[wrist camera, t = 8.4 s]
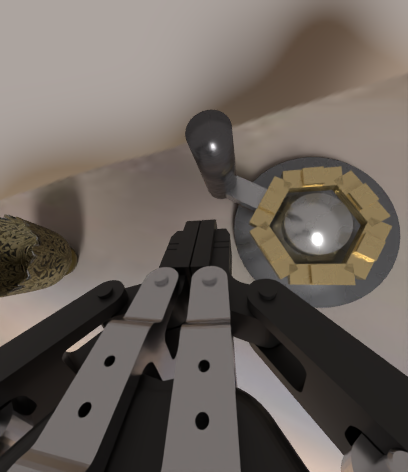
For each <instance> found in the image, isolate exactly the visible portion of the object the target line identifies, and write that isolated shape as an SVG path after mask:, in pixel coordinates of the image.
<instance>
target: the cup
mask: <svg viewBox="0 0 408 472" xmlns="http://www.w3.org/2000/svg"><path fill="white" fill-rule="evenodd" d="M4 217H5V218H1V217H0V297H5V296H10V295H16V294H21V293H27V292H32V291H36V290H40V289H44V288H47V287H49V286H52V285H54V284H55V283H57V282H58V281H60V280H61V279H62V278H63V277H64V276H65V275H68V274H69V273H71V272H72V271H73V270H74V269H75V267H76V265H77V261H78V258H77V254H76V252H75V251H74V250H73V249H72V248H70V246H69V244H68V243H67V241H66V240H65V239H64V238H63V237H62V236H60V235H59V234H57V233H55V232H54V231H51V230H49V229H47V228H44V227H42V226H39V225H37V224H34V223H31V222H29V221H26V220H23V219H21V218H19V217H13V216H10V215H4Z"/></svg>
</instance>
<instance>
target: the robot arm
mask: <svg viewBox="0 0 408 472" xmlns="http://www.w3.org/2000/svg"><path fill="white" fill-rule="evenodd" d="M100 325H102V326H103V328H104V330H103V331H102V332H100V333H99V334H98V335H96V336H95V337H94V338H92V339H91V340H90V341H88V342H87V343H86V344H84V345H83V346H82V347H80V348H79V349H78V350H76V351H74V352H66V350H67V349H68V348H70V347H71V346H72V345H74V344H75V343H76V342H78V341H79V340H80V339H82V338H83V337H85V336H86V335H87V334H89V333H90V332H91V331H93V330H94V329H95V328H97V327H98V326H100ZM233 336H234V337H236V338H239V339H242V340H244V341H247V342H249V343H250V345H251V347H252V348H253V350H254V351H255V352H256V353H257V354H258V356H259V357H260V358H261V359H262V360H263V361H264V363H265V364H266V365H267V366H268V367H269V368H270V370H271V371H272V372H273V373H274V374H275V375H276V377H277V378H278V379H279V380H280V381H281V382H282V384H283V385H284V386H285V387H286V388H287V389H288V391H289V392H290V393H291V394H292V395H293V396H294V398H295V399H296V400H297V401H298V402H299V403H300V405H301V406H302V407H303V408H304V409H305V410H306V412H307V413H308V414H309V415H310V416H311V417H312V419H313V420H314V421H315V422H316V423H317V424H318V426H319V427H320V428H321V429H322V430H323V431H324V433H325V434H326V435H327V436H328V437H329V438H330V440H331V441H332V442H333V443H334V444H335V445H336V447H337V448H338V449H339V450H340V451H341V452H342V454H343V455H344V456H343V459H342V463H341V472H408V377H407V376H406V375H405V374H403V373H402V372H401V371H399V370H398V369H397V368H395V367H394V366H393V365H391V364H390V363H388V362H387V361H386V360H384V359H383V358H382V357H380V356H379V355H378V354H376V353H375V352H374V351H372V350H371V349H370V348H368V347H367V346H365V345H364V344H363V343H361V342H360V341H359V340H357V339H356V338H355V337H353V336H352V335H351V334H349V333H348V332H347V331H345V330H344V329H342V328H341V327H340V326H338V325H337V324H336V323H334V322H333V321H332V320H330V319H329V318H328V317H326V316H325V315H324V314H322V313H321V312H319V311H318V310H317V309H315V308H314V307H313V306H311V305H310V304H309V303H307V302H306V301H305V300H303V299H302V298H300V297H299V296H298V295H296V294H295V293H294V292H292V291H291V290H290V289H288V288H287V287H286V286H284V285H283V284H281V283H280V282H278V281H276V280H273V279H258V280H256V281H254V282H252V283H251V284H250V285H249V284H245V283H241V282H239V281H237V280H235V279H234V278H233V277H232V254H231V242H230V234H229V232H228V231H227V229H217V224H216V220H202V221H187V222H186V224H185V227H184V230H183V231H177V232H176V233H175V234H174V235H173V236H172V237H171V239H170V242H169V245H168V247H167V250H166V251H165V254H164V256H163V259H162V261H161V264H160V266H159V268H158V269H156V270H154V271H152V272H151V273H149V274H148V275H147V276H146V278H145V280H144V282H143V283H142V284H139V285H136V286H132V287H128V288H125V287H124V285H123V284H122V283H121V282H120V281H116V280H112V281H107V282H104V283H102V284H100V285H98V286H97V287H95V288H94V289H92V290H90V291H89V292H87V293H86V294H84V295H82V296H81V297H79V298H78V299H76V300H74V301H73V302H71V303H70V304H68V305H66V306H65V307H63V308H62V309H60V310H58V311H57V312H55V313H54V314H52V315H51V316H49V317H47V318H46V319H44V320H43V321H41V322H39V323H38V324H36V325H35V326H33V327H31V328H30V329H28V330H27V331H25V332H23V333H22V334H20V335H19V336H17V337H15V338H14V339H12V340H11V341H9V342H8V343H6V344H4V345H3V346H1V347H0V472H309V470H308V469H307V467H306V466H305V464H304V463H303V461H302V460H301V458H300V457H299V456H298V454H297V453H296V451H295V450H294V448H293V447H292V445H291V444H290V442H289V441H288V439H287V438H286V437H285V435H284V434H283V432H282V431H281V429H280V428H279V426H278V425H277V423H276V422H275V420H274V419H273V418H272V416H271V415H270V414H269V412H268V411H267V410H266V409H265V408H264V407H263V406H262V405H261V404H260V403H259V402H258V401H257V400H256V399H255V398H254V397H252V396H251V395H250V394H248V393H247V392H245V391H243V390H241V389H239V388H237V377H236V366H235V353H234V340H233Z"/></svg>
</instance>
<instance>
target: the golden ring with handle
mask: <svg viewBox="0 0 408 472" xmlns="http://www.w3.org/2000/svg"><path fill="white" fill-rule="evenodd" d="M185 136H186V140H187V143H188V145H189V147H190V150H191V152H192V154H193V156H194V159H195V161H196V163H197V165H198V168H199V170H200V172H201V175H202V177H203V179H204V181H205V184H206V186H207V188H208V191H209V193H210V194H211V195H212V196H213V197H215V198H218V199H225V198H228V199H230V200H232V201H234V202H236V203H238V204H240V205H242V206H244V207H247V208H249V209H251V210H253V211H255V213H254V214H253V216H252V218H251V220H250V222H249V225H250V226H252V227H254V229H252V230H251V231H250V232H249V234H250V235H251V237H252V238H253V240H254V241H255V243H256V244H257V246H258V248H259V249H260V251H261V252H262V254H263V255H264V257H265V258H266V260H267V261H268V263H269V265H270V266H271V268H272V269H273V271H274V272H275V274H276V275H277V277H278V278H279V279H282V278H284V277H286V276H287V277H288V284H290V285H356V284H355V278H356V279H358V280H365V279H366V277H367V275H368V273H369V271H370V269H371V267H372V265H373V263H374V261H377V259H378V257H379V255H380V253H381V251H382V249H383V247H384V245H385V243H386V242H385V240H386V238H387V236H388V234H389V232H390V230H391V228H392V226H391V225H388V224H386V223H384V222H381V221H383V220H385V219H387V218H388V217H390V215H389V213H388V212H387V211H386V210H385V209H384V208H383V206H382V205H381V204H380V203H379V202H378V201H377V200H379V198H378V197H377V196H376V194H375V193H374V192H373V191H372V190H371V189H370V187H369V186H368V185H367V184H366V183H364V184H363V183H362V182H361V181H360V180H359V179H358V178H357V176H356V175H355V174H354V173H353V172H352V171H349V172H347V173H346V174H344V175H342V167H341V166H340V167H328V168H324V166H323V167H310V168H303V169H302V170H291V171H283V172H282V175H281V179H280V178H278V177H276V176H275V177H274V178H273V180H272V182H271V184H270V186H269V187H268V189H266V188H264V187H261V186H259V185H257V184H255V183H253V182H250V181H248V180H246V179H244V178H241V177H239V176H237V175H236V166H235V155H234V145H233V135H232V125H231V122H230V119H229V118H228V117H227V116H226V115H225V114H224V113H222V112H220V111H217V110H206V111H202V112H200V113H199V114H197V115H195V116H194V117H193V118H192V119H191V120H190V122H189V123H188V125H187V127H186V132H185ZM324 190H333V191H334V193H335V194H336V195H337V196H338V198H339V199H340V200H341V201H342V202H343V203H344V205H345V206H346V207H347V208H348V210H349V211H350V212H351V214H352V215H353V216H354V217H355V219H356V220H357V221H358V222H359V223H360V225H361V226H360V228H359V230H358V232H357V234H356V236H355V237H354V239H353V241H352V243H351V245H350V247H349V249H348V251H347V253H346V255H345V257H344V259H343V261H342V263H341V264H295V263H294V262H293V260H292V259H291V257H290V256H289V254H288V253H287V251H286V250H285V248H284V247H283V245H282V244H281V242H280V241H279V240H278V238H277V237H276V235H275V234H274V232H273V231H272V229H271V228H270V224H271V222H272V220H273V218H274V216H275V215H276V213H277V211H278V209H279V207H280V206H281V204H282V202H283V200H284V198H285V196H286V195H287V193H293V192H309V191H324Z"/></svg>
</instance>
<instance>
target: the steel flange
mask: <svg viewBox="0 0 408 472" xmlns="http://www.w3.org/2000/svg"><path fill="white" fill-rule="evenodd" d="M323 166H324V168H328V167H340V166H341V167H342V175H344V174H346V173H347V172H349V171H352V172H353V173H354V174H355V175H356V176H357V178H358V179H359V180H360V181H361V182H362V183H363V184H364V183H366V184H367V185H368V186H369V187H370V189H371V190H372V191H373V192H374V193H375V194H376V196H377V197H378V198H379V200H377V201H378V202H379V203H380V204H381V205H382V206H383V208H384V209H385V210H386V211H387V212H388V213H389V215H390V217H388V218H387V219H385V220H383V221H381V222H384V223H386V224H388V225H391V226H392V228H391V230H390V232H389V234H388V236H387V238H386V240H385V242H386V243H385V245H384V247H383V249H382V251H381V253H380V255H379V257H378V259H377V261H374V263H373V265H372V267H371V269H370V271H369V273H368V275H367V277H366V279H365V280H358V279H356V278H355V284H356V285H290V284H288V277H287V276H286V277H284V278H282V279H279V278H278V277H277V275H276V274H275V272H274V271H273V269H272V268H271V266H270V265H269V263H268V261H267V260H266V258H265V257H264V255H263V254H262V252H261V251H260V249H259V248H258V246H257V244H256V243H255V241H254V240H253V238H252V237H251V235H250V234H249V232H250V231H251V230H252V229H254V227H252V226H250V225H249V222H250V220H251V218H252V216H253V214H254V213H255V211H253V210H251V209H249V208H247V207H244V206H242V205H240V204H239V206H238V209H237V212H236V217H235V226H234V232H235V241H236V246H237V250H238V252H239V255H240V258H241V260H242V262H243V264H244V266H245V267H246V269H247V270H248V272H249V273H250V275H251V276H252V277H253V278H254V279H255V280H258V279H273V280H276V281H278V282H280V283H281V284H283V285H284V286H286V287H287V288H288V289H290V290H291V291H292V292H294V293H295V294H296V295H298V296H299V297H300V298H302V299H303V300H305V301H306V302H307V303H309V304H310V305H311V306H313V307H316V308H323V307H335V306H341V305H344V304H348V303H351V302H353V301H356V300H358V299H360V298H362V297H364V296H365V295H367V294H368V293H370V292H371V291H373V290H374V289H375V288H376V287H377V286H379V285H380V284H381V282H382V281H383V280H384V279H385V278H386V277H387V275H388V274H389V272H390V270H391V269H392V267H393V265H394V263H395V260H396V258H397V254H398V250H399V244H400V226H399V221H398V217H397V214H396V211H395V209H394V206H393V204H392V202H391V200H390V199H389V197H388V195H387V194H386V193H385V191H384V190H383V189H382V188H381V187H380V186H379V184H378V183H377V182H376V181H375V180H373V179H372V178H371V177H370V176H368V175H367V174H366V173H364V172H363V171H361V170H359V169H358V168H356V167H354V166H352V165H349V164H347V163H344V162H341V161H338V160H334V159H329V158H320V157H306V158H298V159H293V160H289V161H286V162H283V163H281V164H278V165H276V166H274V167H272V168H270V169H269V170H267V171H266V172H264V173H263V174H261V175H260V176H259V177H258V178H257V179H256V180H255V181H254V182H253V183H255V184H257V185H259V186H261V187H264V188H266V189H268V187H269V186H270V184H271V182H272V180H273V178H274V177H275V176H276V177H278V178H280V179H281V175H282V172H283V171H291V170H302V169H303V168H310V167H323ZM360 226H361V225H360V223H359V222H358V221H357V220H356V219H355V217H354V216H353V215H352V214H351V212H350V211H349V210H348V208H347V207H346V206H345V205H344V203H343V202H342V201H341V200H340V199H339V198H338V196H337V195H336V194H335V193H334V191H333V190H324V191H309V192H293V193H287V195H286V196H285V198H284V200H283V202H282V204H281V206H280V207H279V209H278V211H277V213H276V215H275V216H274V218H273V220H272V222H271V224H270V228H271V229H272V231H273V232H274V234H275V235H276V237H277V238H278V240H279V241H280V242H281V244H282V245H283V247H284V248H285V250H286V251H287V253H288V254H289V256H290V257H291V259H292V260H293V262H294V263H295V264H341V263H342V261H343V259H344V257H345V255H346V253H347V251H348V249H349V247H350V245H351V243H352V241H353V239H354V237H355V236H356V234H357V232H358V230H359V228H360Z"/></svg>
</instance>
